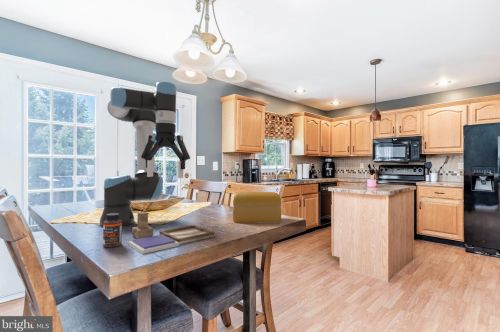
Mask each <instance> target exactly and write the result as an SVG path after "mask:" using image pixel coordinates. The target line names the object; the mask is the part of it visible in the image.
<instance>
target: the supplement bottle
mask: <svg viewBox="0 0 500 332" xmlns="http://www.w3.org/2000/svg"><path fill="white" fill-rule="evenodd" d="M106 218H107V219H106V220H105V221H104V223H103V226H102V228H103V229H102V246H103V247H104V248H110V249H111V248H116V247H119V246H120V245H122V244H123V243H122V240H123V239H122V237H123V236H122V234H123V233H122V232H123V231H122V230H123V226H122V220H121V219H119V213H110V214H107V217H106Z"/></svg>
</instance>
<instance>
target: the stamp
mask: <svg viewBox="0 0 500 332" xmlns="http://www.w3.org/2000/svg"><path fill="white" fill-rule="evenodd" d="M136 218H137V219H136V220H137V223H136V224H137V226H134V227H131V236H132V238H134V240H135V239H140V238H146V237H151V236H154V228H153V227H151V226H149V212H147V211H142V212H137V217H136Z"/></svg>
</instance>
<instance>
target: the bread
mask: <svg viewBox="0 0 500 332" xmlns="http://www.w3.org/2000/svg"><path fill="white" fill-rule="evenodd" d="M232 203H233V209H232V223H233V222H234V223H233V224H236V223H237V224H238V223H239V224H243V223H244V224H257V223H256V222H281V223H282V199H281V196H280V193H277V192H273V191H239V192H235V193H234V196H233V201H232ZM253 222H255V223H253Z"/></svg>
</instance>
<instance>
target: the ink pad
mask: <svg viewBox="0 0 500 332" xmlns="http://www.w3.org/2000/svg"><path fill="white" fill-rule="evenodd" d="M127 244H128V246H129V247H130V248H133V250H135V251H137V252H138V253H140V254H141V255H144V254H150V253H153V252H157V251H161V250H166V249H170V248H171V249H172V248H174V247H175V248H177V247H179V246H180V244H179V242H177V241H175V240H173V239H170V238H168V237H166V236H164V235H159V234H157V235H153V236H151V237H146V238H140V239H135V238H134V239H132V240H129V241H128V243H127Z"/></svg>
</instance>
